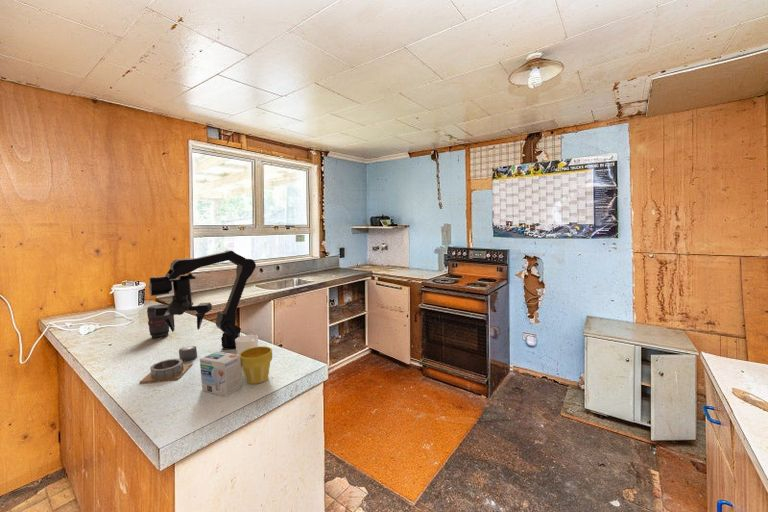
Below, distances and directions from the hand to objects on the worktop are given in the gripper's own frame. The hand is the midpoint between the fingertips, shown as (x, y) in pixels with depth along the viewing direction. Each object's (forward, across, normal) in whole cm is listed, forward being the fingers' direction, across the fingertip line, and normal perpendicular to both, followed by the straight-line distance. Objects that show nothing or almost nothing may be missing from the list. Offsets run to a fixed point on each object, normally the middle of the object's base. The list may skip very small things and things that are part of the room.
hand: (186, 330), depth 129 cm
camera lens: (+12, -24, +31) cm, 41 cm away
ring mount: (+12, -2, -13) cm, 18 cm away
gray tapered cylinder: (+12, 0, 0) cm, 12 cm away
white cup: (+12, +25, -11) cm, 30 cm away
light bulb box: (+12, +21, -29) cm, 38 cm away
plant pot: (+12, +31, -25) cm, 42 cm away
